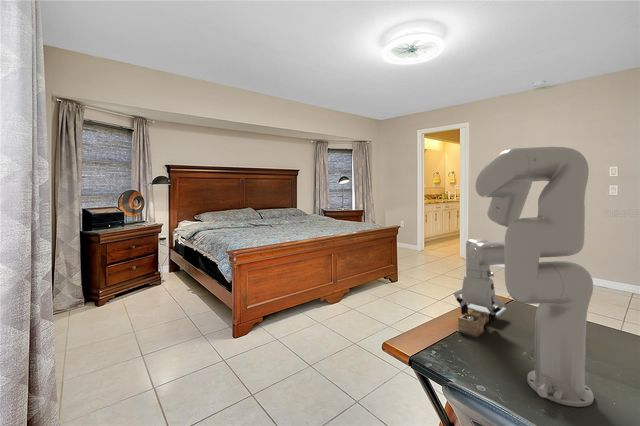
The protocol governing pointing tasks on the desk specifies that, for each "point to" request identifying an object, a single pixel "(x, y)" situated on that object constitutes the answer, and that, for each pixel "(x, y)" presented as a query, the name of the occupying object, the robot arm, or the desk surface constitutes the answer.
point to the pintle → (468, 333)
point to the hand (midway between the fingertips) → (477, 320)
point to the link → (473, 322)
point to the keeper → (485, 309)
